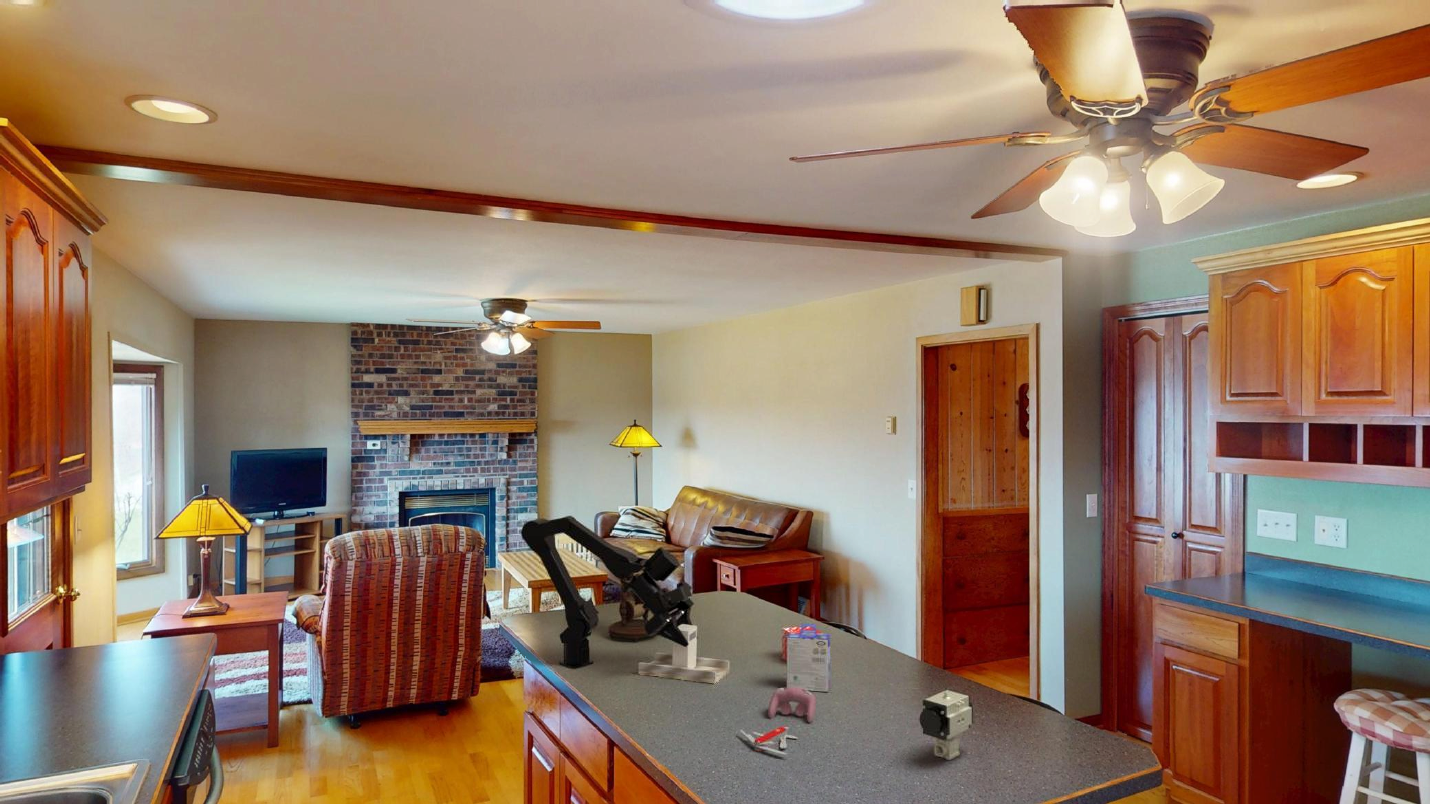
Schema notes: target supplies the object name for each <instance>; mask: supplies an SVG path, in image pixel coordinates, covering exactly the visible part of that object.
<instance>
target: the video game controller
mask: <svg viewBox="0 0 1430 804" xmlns="http://www.w3.org/2000/svg"><path fill="white" fill-rule="evenodd" d="M790 703H798V704H797V705H796V706H795V707H794V713H795V715H796V716H798V717H799V718H803V717H805V716H806V719H807V722H808V723H809V724H811V723H812V722H813V720H814V718H815V713H816V704H817V698H816V696H815V695H814V694H813V693H812V692H810V691H807V690H804V689H801V688H796V687H787V686H786V687H780V688H777V689H776V690H775V691H774V692H773V693H772V695H771V697H770V701H769V704H768V710H767V714H768V718H770V719H773V718H774V717H775V715H776V714H777V711H778V708H779V710H780V712H781V713H782V714H783V715H784V716H789V715H790V714H791V713H792V709H793V708H792V705H791V704H790Z"/></svg>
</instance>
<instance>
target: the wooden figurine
mask: <svg viewBox="0 0 1430 804" xmlns="http://www.w3.org/2000/svg"><path fill="white" fill-rule="evenodd" d="M645 570H646V568H644V569H643V570H641V571H640V572H638V573H634V574H632V575H631V576H629V577H627V578H624V579H619V582H620V584H621V586H620V591H621V592H620V593H619V599H620V602H619V608H618V611H619V616H620V618H621V620H618V621H616V622H613V624H611V625H609V626H608V633H609V637H610V636H612V637H617V638H622V639H623V638H624V639H625V638H626V639H633V640H634V642H635V643H636V642H637V643H638V640H639V639H640V638H649V637H653V636H657V635H656V633H657V632H658V631H659V630H658V628H657V629H656V630H655V633H654V634H653V635H651V636H648V634H647V633H646V632H645V631H644V625H645V624H646V623H647V622H648V621H649V620H650V619H648V618H649V612H650V610H649V609H648V608H647V609H645V610H644V608H643V607H642V606H643V605H644V603H643V602H642V601H641V600H640V598H639V597H638V596H637V595H636V594H635V593H634V591H633V590H632V589H631V590H630V591H629V592H626V593H623V587H624V583H623V582H624V581H630V580H631V579H632V578H633V577H634V576H635V575H636V574H642V573H643V572H644V571H645ZM636 596H637V598H636V599H635V597H636ZM641 617H642V618H641Z"/></svg>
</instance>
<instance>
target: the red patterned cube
mask: <svg viewBox="0 0 1430 804" xmlns="http://www.w3.org/2000/svg"><path fill="white" fill-rule="evenodd" d="M803 629H804V630H814V628H812V627H804V628H803ZM781 630H782V632H781V634H782V635H781V636H782V639H781V640H782V641H781V644H782V645H781V646H782V647H781V648H782V649H781V650H782V651H781V652H782V654H781V656H782V657H781V659H782V660H784V661H786V662H787V637H788V635H789V633H800V632H801V626H791V627H783V628H781ZM817 634H824V633H823V632H821V631H820V630H818V629H817Z"/></svg>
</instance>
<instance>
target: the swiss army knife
mask: <svg viewBox="0 0 1430 804" xmlns="http://www.w3.org/2000/svg"><path fill="white" fill-rule="evenodd" d="M788 729H790V727H788V726H779V727H777V728H775V729H773V730H771V731H769V732H767V733H765V734H762V733H759V732H756V731H751V732H752V734H753V735H754V736H756V737H758V738H755V737H753V736H752V734H747V733H746V732H745V731H743V729H739V732H740V733H741V734H742V735H743V736H744V737H745V738H746V739H748V741H750V742H751V743H752V745H754V751H757V752H763V751H767V752H771V753H774V754H777V755H782V756H788V755H789V754H787V752H783V751H780V750H777V749H773V748H771V747H773V746H775V745H776V744H778V743H780V744H779V748H780V749H783V750H784V749H785V748H787V746H788V744H787V738H788V739H799V737H797V736H795V735H792V734H787V730H788ZM777 742H778V743H777ZM774 744H775V745H774ZM772 745H773V746H772ZM769 746H771V747H769ZM768 747H769V748H768Z"/></svg>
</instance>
